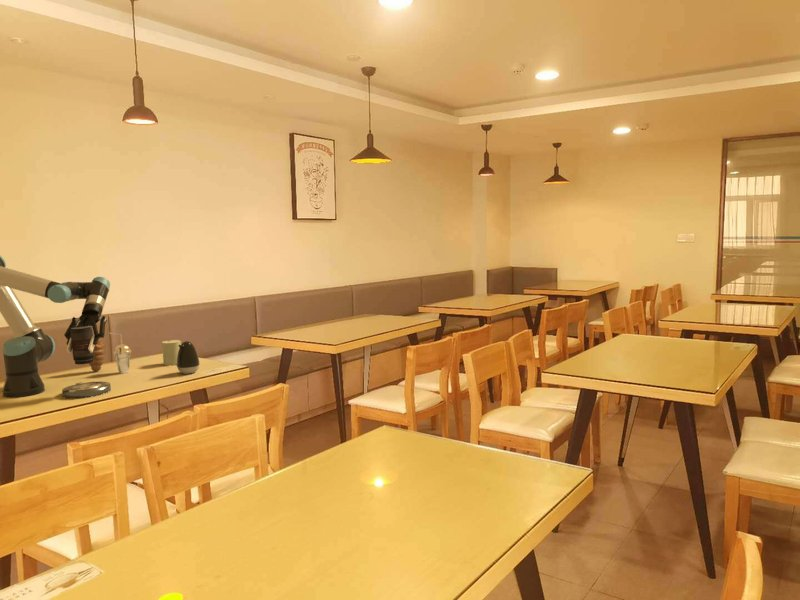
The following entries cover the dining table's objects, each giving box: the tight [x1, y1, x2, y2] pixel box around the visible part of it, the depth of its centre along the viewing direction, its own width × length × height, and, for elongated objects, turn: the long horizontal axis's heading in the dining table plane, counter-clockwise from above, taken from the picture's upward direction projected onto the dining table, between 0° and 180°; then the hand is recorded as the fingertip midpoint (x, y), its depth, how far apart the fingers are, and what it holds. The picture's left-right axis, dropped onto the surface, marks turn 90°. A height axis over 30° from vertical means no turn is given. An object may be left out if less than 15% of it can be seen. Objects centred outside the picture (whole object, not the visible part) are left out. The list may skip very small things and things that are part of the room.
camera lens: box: [70, 326, 94, 365], centre depth 247 cm, size 8×8×15 cm
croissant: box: [88, 338, 106, 372], centre depth 289 cm, size 9×8×18 cm
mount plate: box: [61, 381, 112, 399], centre depth 249 cm, size 18×18×3 cm
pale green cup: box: [161, 339, 182, 366], centre depth 303 cm, size 9×9×12 cm
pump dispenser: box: [176, 340, 200, 375], centre depth 280 cm, size 10×10×15 cm
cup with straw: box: [108, 331, 133, 374], centre depth 285 cm, size 8×9×20 cm
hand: (79, 351), depth 244 cm, fingers closed on camera lens, 8 cm apart
